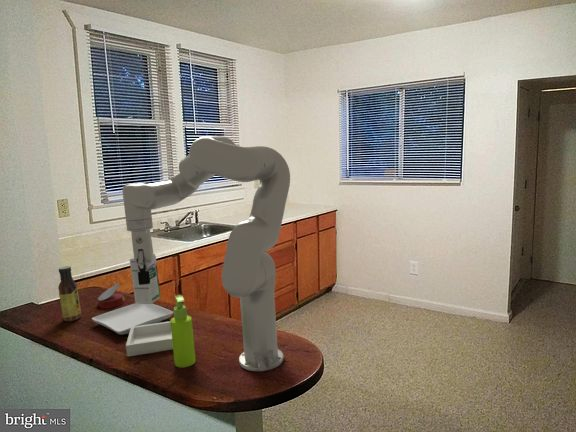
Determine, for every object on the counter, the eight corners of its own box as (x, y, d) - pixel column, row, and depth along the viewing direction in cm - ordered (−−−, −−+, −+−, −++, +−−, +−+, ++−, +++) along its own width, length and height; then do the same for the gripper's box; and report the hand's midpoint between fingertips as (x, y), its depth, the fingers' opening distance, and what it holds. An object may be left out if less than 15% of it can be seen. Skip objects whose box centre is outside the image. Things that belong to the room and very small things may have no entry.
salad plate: (144, 307, 167) (143, 299, 166) (175, 319, 153) (174, 310, 152) (91, 326, 151) (89, 317, 151) (120, 342, 137) (118, 332, 137)
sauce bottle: (82, 319, 157) (75, 267, 154) (64, 323, 154) (56, 271, 150) (80, 314, 162) (73, 264, 159) (62, 318, 159) (54, 267, 156)
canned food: (118, 317, 169) (110, 301, 163) (96, 313, 172) (87, 297, 166) (132, 296, 178) (125, 279, 172) (111, 293, 180) (104, 276, 174)
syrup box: (151, 304, 129) (146, 258, 126) (134, 303, 130) (129, 258, 128) (161, 297, 134) (156, 253, 132) (144, 297, 136) (139, 253, 133)
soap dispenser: (177, 371, 116) (169, 302, 113) (173, 360, 123) (166, 294, 119) (198, 365, 119) (191, 298, 115) (193, 355, 125) (187, 290, 122)
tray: (175, 348, 129) (174, 338, 129) (127, 356, 126) (125, 345, 126) (175, 330, 143) (174, 320, 142) (132, 336, 140) (131, 326, 139)
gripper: (150, 228, 121) (156, 287, 124) (154, 218, 137) (159, 271, 140) (122, 230, 119) (129, 290, 122) (129, 220, 136) (135, 273, 139)
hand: (145, 279), depth 131 cm, fingers closed on syrup box, 7 cm apart
